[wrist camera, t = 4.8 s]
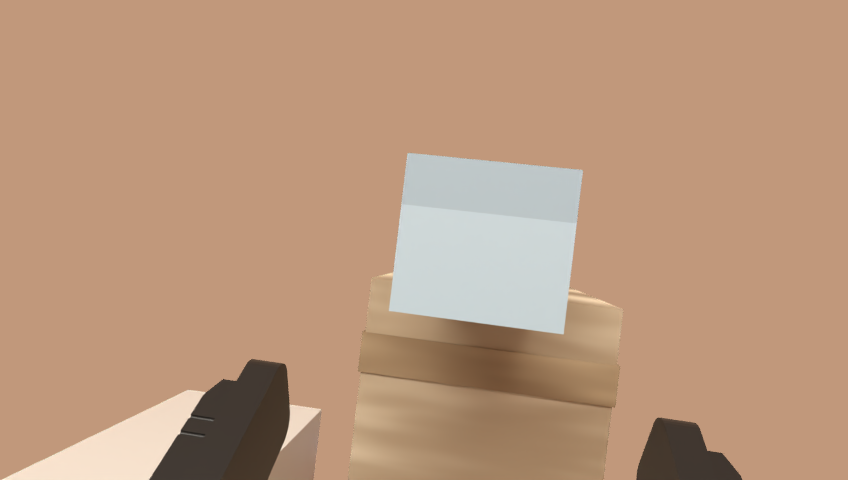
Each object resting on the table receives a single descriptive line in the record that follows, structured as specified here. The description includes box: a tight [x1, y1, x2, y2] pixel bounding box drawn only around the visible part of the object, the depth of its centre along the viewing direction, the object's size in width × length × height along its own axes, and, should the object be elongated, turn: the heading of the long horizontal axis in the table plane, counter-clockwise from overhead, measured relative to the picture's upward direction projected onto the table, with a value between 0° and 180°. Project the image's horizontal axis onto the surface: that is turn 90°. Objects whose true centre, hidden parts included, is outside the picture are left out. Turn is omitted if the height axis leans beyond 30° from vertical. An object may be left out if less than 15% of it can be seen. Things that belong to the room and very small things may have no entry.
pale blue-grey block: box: [389, 153, 583, 334], centre depth 25 cm, size 24×4×4 cm, turn 172°
